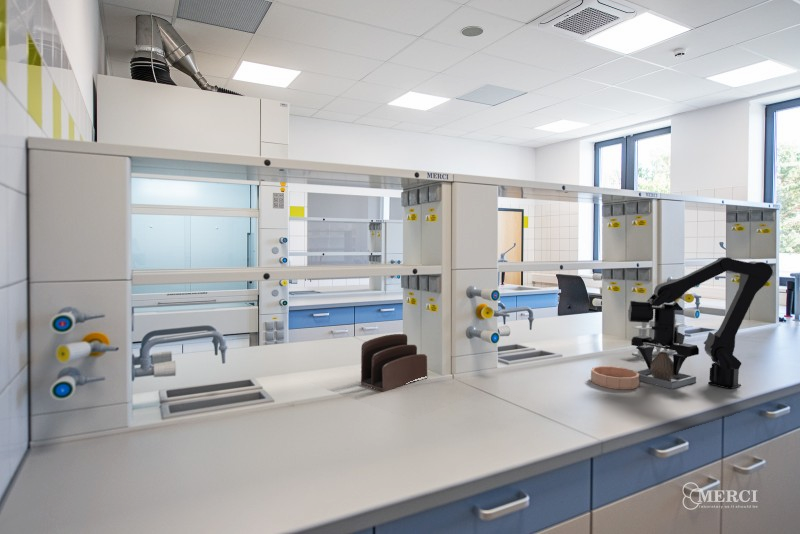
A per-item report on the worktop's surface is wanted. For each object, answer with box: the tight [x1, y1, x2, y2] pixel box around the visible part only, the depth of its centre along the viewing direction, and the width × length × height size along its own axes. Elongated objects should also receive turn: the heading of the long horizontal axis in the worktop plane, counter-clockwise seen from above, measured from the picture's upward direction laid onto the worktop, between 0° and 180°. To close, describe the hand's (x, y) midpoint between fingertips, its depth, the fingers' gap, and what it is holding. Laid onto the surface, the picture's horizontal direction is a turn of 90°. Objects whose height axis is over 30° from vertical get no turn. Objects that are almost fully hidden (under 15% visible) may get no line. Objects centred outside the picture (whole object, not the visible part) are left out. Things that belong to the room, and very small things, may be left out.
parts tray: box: [634, 367, 697, 390], centre depth 152 cm, size 14×14×2 cm
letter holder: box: [360, 333, 428, 393], centre depth 149 cm, size 10×20×14 cm, turn 136°
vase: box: [651, 352, 674, 382], centre depth 152 cm, size 7×7×9 cm
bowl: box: [590, 365, 640, 390], centre depth 149 cm, size 13×13×3 cm
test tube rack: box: [631, 317, 685, 358], centre depth 190 cm, size 25×4×13 cm, turn 116°
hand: (662, 372), depth 152 cm, fingers open, 8 cm apart
